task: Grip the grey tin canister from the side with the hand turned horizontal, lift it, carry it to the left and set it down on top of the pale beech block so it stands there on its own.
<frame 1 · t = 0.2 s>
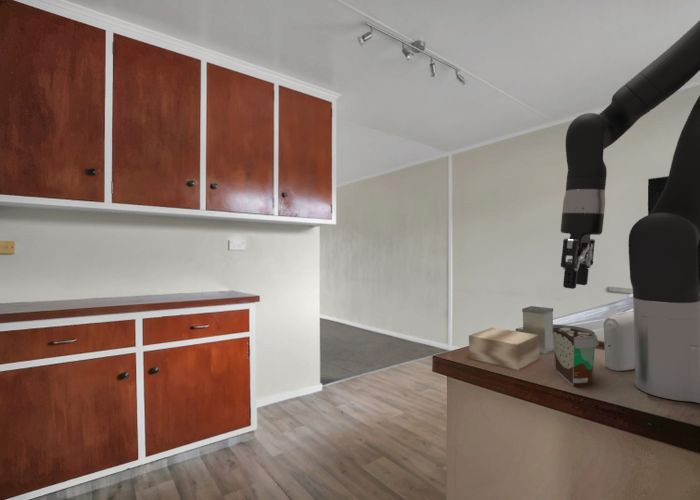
hand: (575, 286, 76), 19 cm above the countertop, tool pointing down, fingers open, 8 cm apart
food container: (579, 379, 72), on the countertop
tin canister: (538, 349, 92), on the countertop
beech block: (504, 359, 86), on the countertop
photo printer: (628, 367, 78), on the countertop
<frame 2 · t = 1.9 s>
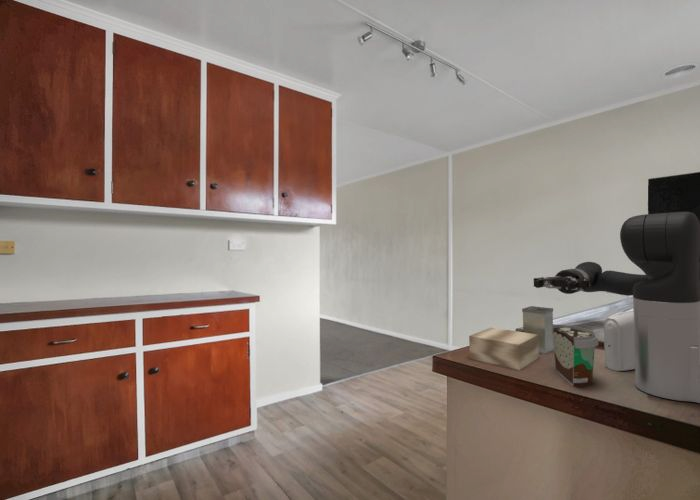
hand: (552, 285, 100), 16 cm above the countertop, tool horizontal, fingers open, 8 cm apart
nothing on the countertop moved.
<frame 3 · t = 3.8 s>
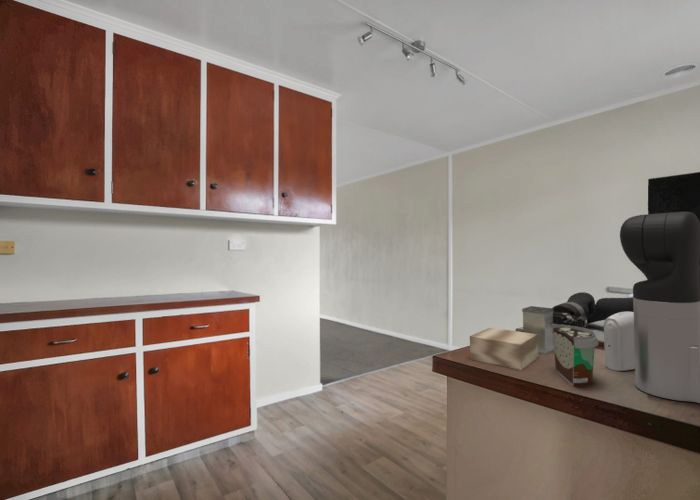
hand: (547, 323, 96), 6 cm above the countertop, tool horizontal, fingers open, 8 cm apart
nothing on the countertop moved.
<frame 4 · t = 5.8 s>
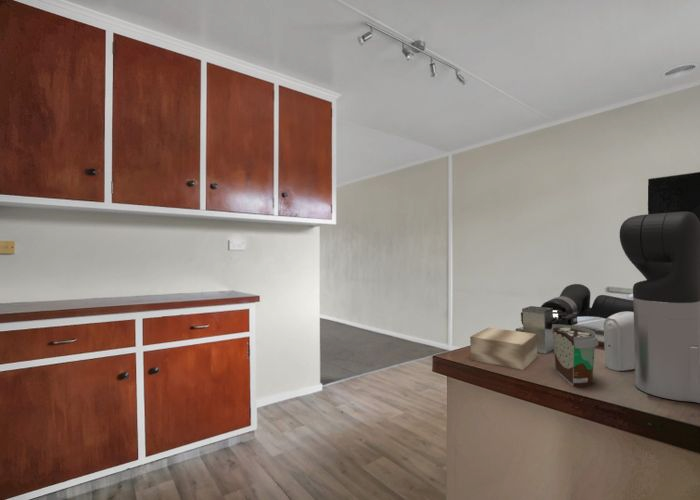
hand: (535, 323, 91), 7 cm above the countertop, tool horizontal, fingers closed on tin canister, 5 cm apart
tin canister: (538, 349, 92), on the countertop, touching gripper
everything else where it was.
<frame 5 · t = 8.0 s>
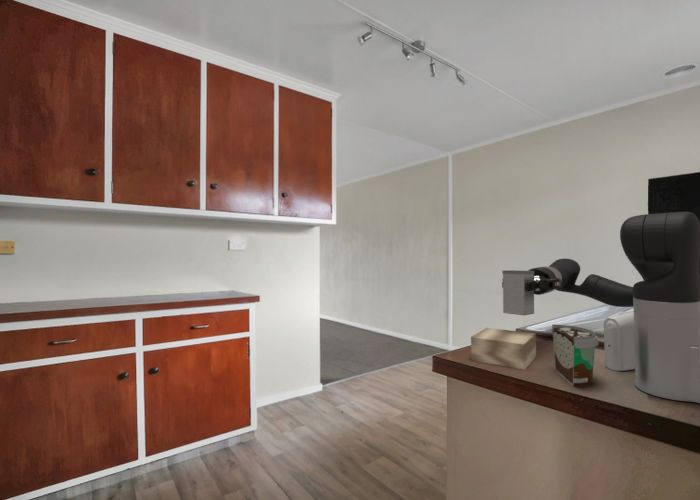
hand: (515, 286, 88), 18 cm above the countertop, tool horizontal, fingers closed on tin canister, 5 cm apart
tin canister: (518, 313, 89), point 10 cm above the countertop, touching gripper
everything else where it was.
when the fingers open (13 cm above the countertop, at t = 10.0 s): tin canister stays where it is, resting on beech block.
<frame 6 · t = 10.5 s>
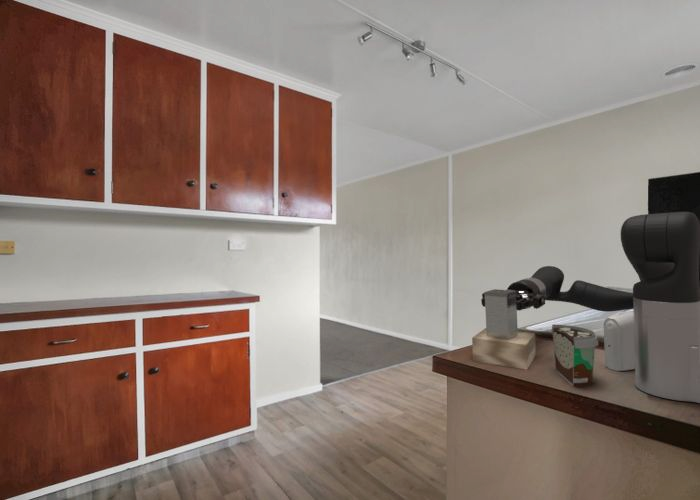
hand: (499, 304, 85), 14 cm above the countertop, tool horizontal, fingers open, 8 cm apart
tin canister: (502, 335, 86), point 6 cm above the countertop, touching beech block
beech block: (504, 359, 86), on the countertop, touching tin canister
everything else where it was.
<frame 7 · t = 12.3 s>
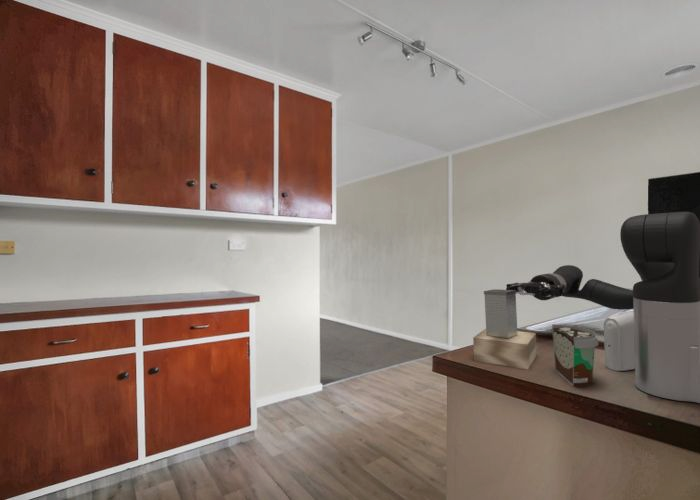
hand: (523, 292, 94), 15 cm above the countertop, tool horizontal, fingers open, 8 cm apart
tin canister: (501, 334, 86), point 6 cm above the countertop
beech block: (505, 359, 86), on the countertop
everything else where it was.
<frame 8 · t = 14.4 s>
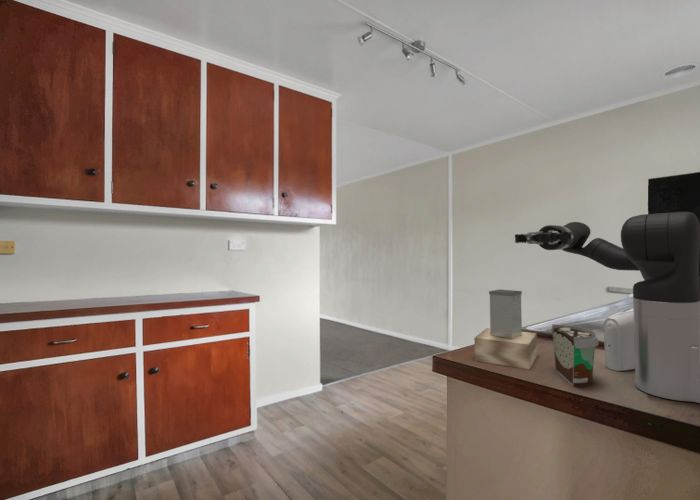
hand: (532, 237, 96), 30 cm above the countertop, tool horizontal, fingers open, 8 cm apart
tin canister: (506, 335, 86), point 6 cm above the countertop, touching beech block
beech block: (506, 359, 86), on the countertop, touching tin canister
everything else where it was.
at the end: tin canister inside the target area on the beech block (0.1 cm from its centre), point 6.0 cm above the beech block's base; tin canister tilted 1°; the gripper is holding nothing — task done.
